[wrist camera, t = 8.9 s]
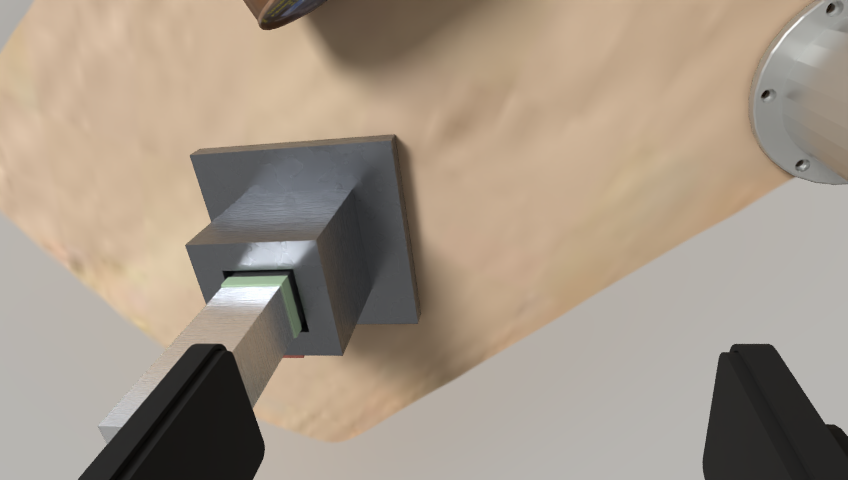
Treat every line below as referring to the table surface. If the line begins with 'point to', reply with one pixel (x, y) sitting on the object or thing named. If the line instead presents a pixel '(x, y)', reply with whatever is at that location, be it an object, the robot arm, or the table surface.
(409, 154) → the table surface
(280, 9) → the tin
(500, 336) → the table surface
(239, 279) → the bar
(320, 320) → the jack base
